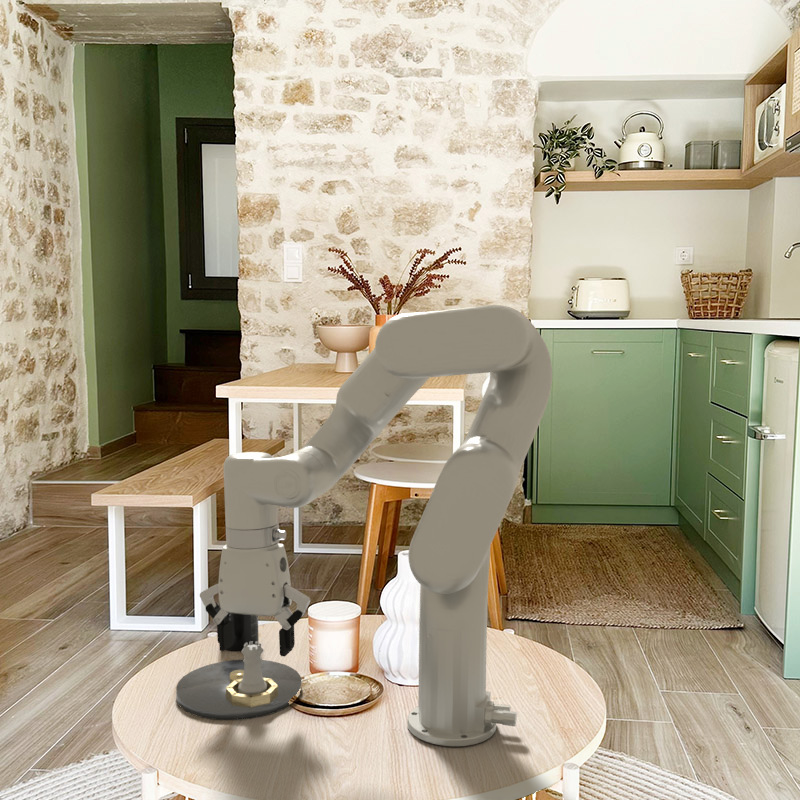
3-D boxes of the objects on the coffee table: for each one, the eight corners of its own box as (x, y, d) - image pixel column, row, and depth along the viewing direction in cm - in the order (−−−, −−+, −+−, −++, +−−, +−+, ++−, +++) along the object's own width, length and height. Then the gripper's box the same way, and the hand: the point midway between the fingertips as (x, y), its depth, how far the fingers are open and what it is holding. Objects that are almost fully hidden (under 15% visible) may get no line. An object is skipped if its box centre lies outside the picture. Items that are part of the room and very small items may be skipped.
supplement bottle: (245, 635, 158) (244, 571, 157) (265, 646, 153) (265, 579, 152) (211, 644, 154) (211, 578, 153) (232, 655, 149) (231, 587, 148)
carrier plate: (319, 675, 140) (319, 657, 140) (270, 727, 122) (270, 706, 122) (213, 662, 145) (213, 645, 145) (152, 710, 127) (151, 690, 127)
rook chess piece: (252, 705, 125) (251, 652, 125) (231, 697, 128) (230, 645, 127) (274, 695, 129) (274, 643, 128) (253, 687, 132) (253, 636, 131)
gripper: (316, 533, 128) (319, 646, 129) (211, 528, 133) (215, 637, 134) (297, 545, 121) (300, 664, 122) (186, 540, 125) (191, 655, 127)
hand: (256, 650), depth 128 cm, fingers open, 9 cm apart
